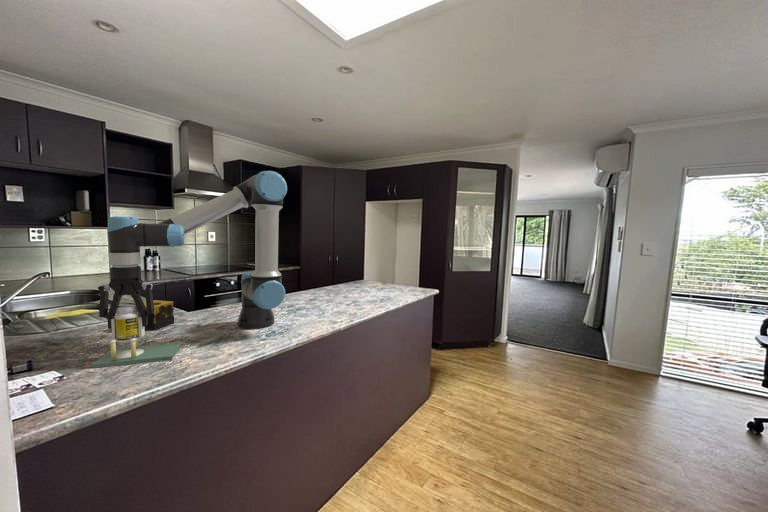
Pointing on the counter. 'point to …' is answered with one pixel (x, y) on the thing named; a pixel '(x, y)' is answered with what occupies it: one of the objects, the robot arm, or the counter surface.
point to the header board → (137, 354)
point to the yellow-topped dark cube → (160, 315)
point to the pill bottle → (127, 323)
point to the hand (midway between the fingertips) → (128, 336)
